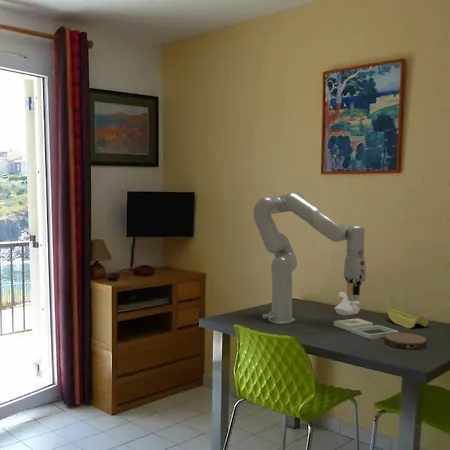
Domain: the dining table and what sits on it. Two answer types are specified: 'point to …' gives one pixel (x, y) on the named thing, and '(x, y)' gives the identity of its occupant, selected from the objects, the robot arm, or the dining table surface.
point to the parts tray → (370, 336)
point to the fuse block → (352, 323)
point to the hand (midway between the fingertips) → (353, 293)
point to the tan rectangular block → (350, 292)
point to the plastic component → (405, 318)
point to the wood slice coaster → (405, 341)
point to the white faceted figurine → (346, 306)
